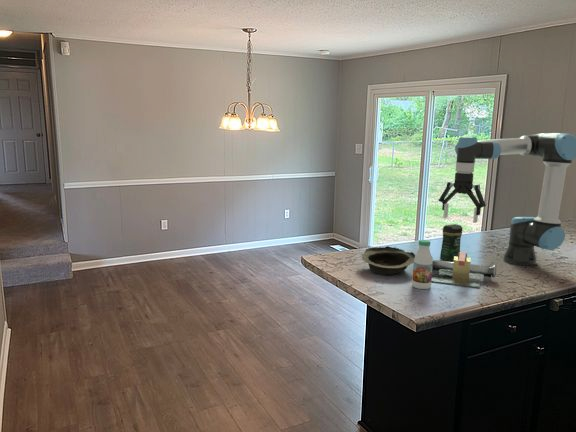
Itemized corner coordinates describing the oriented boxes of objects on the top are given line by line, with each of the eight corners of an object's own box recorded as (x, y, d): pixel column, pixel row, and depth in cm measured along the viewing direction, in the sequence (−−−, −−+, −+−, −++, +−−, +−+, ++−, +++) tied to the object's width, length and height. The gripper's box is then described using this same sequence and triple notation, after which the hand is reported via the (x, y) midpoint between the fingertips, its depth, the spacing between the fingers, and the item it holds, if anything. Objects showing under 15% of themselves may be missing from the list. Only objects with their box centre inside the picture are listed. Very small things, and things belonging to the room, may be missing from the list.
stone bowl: (399, 261, 233) (401, 244, 231) (423, 281, 210) (426, 262, 207) (352, 263, 228) (354, 245, 226) (372, 283, 204) (374, 263, 202)
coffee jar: (450, 263, 232) (453, 227, 229) (437, 259, 239) (440, 224, 235) (462, 260, 237) (465, 225, 234) (449, 257, 244) (452, 222, 240)
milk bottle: (409, 283, 201) (412, 238, 197) (426, 283, 202) (430, 238, 198) (415, 289, 193) (419, 243, 190) (433, 289, 194) (437, 243, 190)
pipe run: (493, 275, 214) (495, 257, 213) (495, 290, 194) (497, 270, 193) (421, 266, 226) (423, 249, 224) (416, 280, 206) (417, 261, 204)
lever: (458, 257, 212) (458, 251, 211) (466, 258, 210) (467, 252, 210) (456, 266, 197) (457, 260, 197) (465, 267, 196) (466, 261, 196)
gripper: (496, 174, 198) (491, 223, 202) (441, 169, 215) (437, 215, 219) (490, 175, 193) (484, 225, 197) (433, 170, 209) (429, 216, 213)
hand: (459, 220), depth 208 cm, fingers open, 13 cm apart
